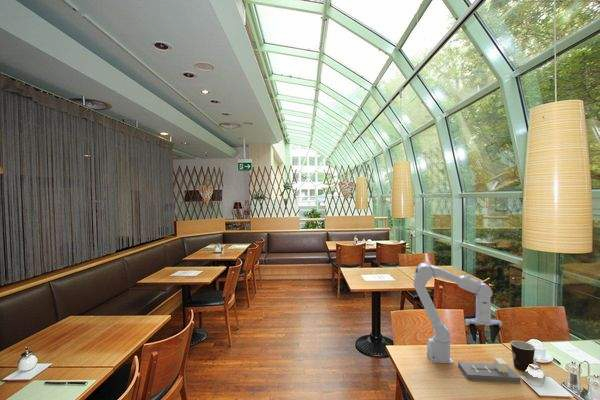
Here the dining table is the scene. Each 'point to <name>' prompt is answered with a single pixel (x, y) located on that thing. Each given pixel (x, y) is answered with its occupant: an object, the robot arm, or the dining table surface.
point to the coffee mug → (522, 354)
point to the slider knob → (500, 365)
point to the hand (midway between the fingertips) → (483, 341)
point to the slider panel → (487, 372)
